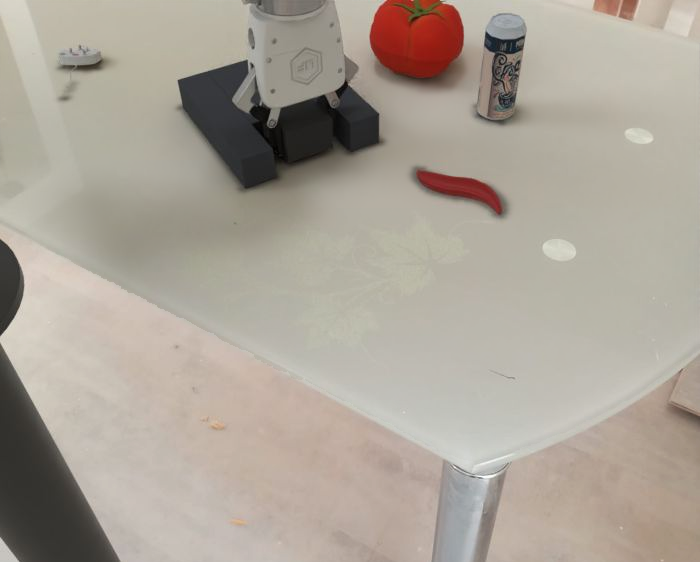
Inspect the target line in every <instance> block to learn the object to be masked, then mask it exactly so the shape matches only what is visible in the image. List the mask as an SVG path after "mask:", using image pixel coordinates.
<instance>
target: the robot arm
mask: <svg viewBox="0 0 700 562" xmlns="http://www.w3.org/2000/svg"><path fill="white" fill-rule="evenodd" d="M241 2H242V4H243V5H249V4H250V5H249V8H248V9H249V10H248V16H247V17H248V18H247V27H246V28H247V33H246V34H247V35H246V40H247V41H246V51H247V53H246V54H247V59H248V70H249V73H248V75H247V77H246V78H245V80H244V81H243V83H242V84H241V86H240V87H239V89H238V90H237V92H236V93H235V95H234V97H233V98H232V101H233V103H234V104H235V105H236V106H237V108H239V109H241V110H242V111H244V112H246V113H248V114H250V115H252V116H253V117H254V118H256V119H257V120H259V121H261V122H262V123H263V129H264V138H265V140H266V142H267V143H268V144H269V145H270V146H271V147H272V149H273V152H274V153H275V154H276V155H277V157H283V156H282V155H283V154H284V146H283V136H282V126H281V125H280V124H279V123H278V118H279V114H280V110H281V108H282V107H286V106H290V105H293V104H296V103H299V102H303V101H306V100H309V99H312V98H315V97H318V96H320V97H319V98H317V101H316V103H317V104H318V105H319V106H320V107H321V108H322V109H323V110H324V111H325V112H326V113H327V114H328V115H329V116H330V117H331V118H332V127H333V139H334V138H335V135H334V127H336V111H335V108H336V107H337V106H338V105H339V103H340V101H339V99H340V97H341V96H342V94H343V93H344V92H345V90H346V89H347V87H348V85H349V83H350V82H351V81H352V80H353V79H354V77H355V76H356V75H357V73H358V72H359V65H358V64H356V62H355V61H353V60H352V59H351V58H349V57H348V55H345V50H344V41H343V35H342V30H341V29H342V28H341V23H340V19H339V14H338V9H337V6H336V2H335V0H241ZM255 92H257V93H259V94H260V97H261V100H260V104H259V105H258V104H257V103H255V102H253V101H251V98H252V96H253V95H254V93H255Z"/></svg>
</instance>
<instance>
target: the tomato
mask: <svg viewBox="0 0 700 562" xmlns="http://www.w3.org/2000/svg"><path fill="white" fill-rule="evenodd" d="M445 2H446V0H385V1H384V2H382V4H381V5H380V6H379V7H377V10H376V12H374V16H373V21H372V24H371V26H370V30H369V37H368V38H369V45H370V48H371V50H372V52H373V54H374V56H375V57H376V59H377V60H378V61H379V63H380V64H381V65H382V66H383V67H384V68H386V69H388V70H389V71H391V72H393V73H394V74H399V75H402V76H403V75H404V76H408V77H413V78H417V79H424V78H432V77H435V76H437V75H440V74H442V73H444V72H446V71H447V69H448V67H450V65H451V63H452V62H454V61H455V60H457V59H458V58H459V56H460V55H461V53H462V51H463V48H464V43H465V30H464V25H463V20H462V17H461V15H460V11H459V10H458V9H457V8H456V7H455V6H454V5H453V4H449V3H445Z"/></svg>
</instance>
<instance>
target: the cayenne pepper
mask: <svg viewBox="0 0 700 562" xmlns="http://www.w3.org/2000/svg"><path fill="white" fill-rule="evenodd" d="M416 176H417V179H418V181H419V182H420V183H421V184H422V185H423V186H425V187H426V188H428V189H430V190H432V191H435V192H438V193H441V194H445V195H450V196H456V197H457V196H458V197H463V198H469V199H474V200H478V201H479V202H483V203H485V204H487V205H489V206H490V207H491V208H492V209H493V210H494V211H495V212H496V213H497V214H498V215H501V214H502V211H503V207H502V203H501V200H500V197H499V196H498V194H497V193H496V192H495V190H494V189H493V188H492V187H491V186H490V185H488V184H487V183H484V182H482V181H480V180H478V179H477V178H472V177H466V176H452V175H446V174H442V173H438V172H432V171H426V170H421V169H417V170H416Z"/></svg>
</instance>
